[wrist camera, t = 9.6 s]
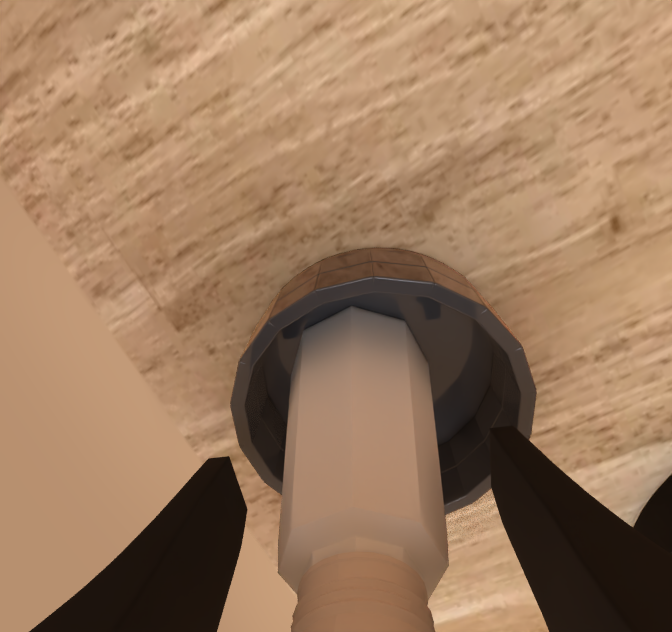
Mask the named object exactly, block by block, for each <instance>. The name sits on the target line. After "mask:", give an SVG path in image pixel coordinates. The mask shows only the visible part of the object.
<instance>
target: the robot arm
mask: <svg viewBox="0 0 672 632" xmlns="http://www.w3.org/2000/svg"><path fill="white" fill-rule="evenodd" d="M489 437H490V469H491V488H492V491H493V494H494V497H495V501H496V504H497V507H498V510H499V513H500V516H501V520H502V523H503V525H504V528H505V530H506V532H507V535H508V537H509V539H510V542H511V544H512V546H513V548H514V551H515V553H516V555H517V558H518V560H519V562H520V564H521V567H522V569H523V571H524V574H525V576H526V578H527V580H528V583H529V585H530V587H531V589H532V592H533V594H534V596H535V599H536V601H537V603H538V605H539V608H540V610H541V612H542V615H543V617H544V620H545V622H546V625H547V627H548V630H549V632H672V554H671V553H669V552H667V551H666V550H664V549H663V548H661V547H660V546H658V545H657V544H656V543H654V542H653V541H651V540H650V539H648V538H647V537H645V536H644V535H642V534H641V533H640V532H638V531H637V530H635V529H634V528H633V527H631V526H630V525H629V524H627V523H626V522H624V521H623V520H622V519H620V518H619V517H618V516H616V515H615V514H614V513H613V512H611V511H610V510H609V509H607V508H606V507H605V506H604V505H602V504H601V503H600V502H599V501H597V500H596V499H595V498H593V497H592V496H591V495H590V494H589V493H587V492H586V491H585V490H584V489H583V488H581V487H580V486H579V485H578V484H577V483H576V482H574V481H573V480H572V479H571V478H570V477H569V476H567V475H566V474H565V473H564V472H563V471H562V470H560V469H559V468H558V467H557V466H556V465H555V464H554V463H553V462H552V461H550V460H549V459H548V458H547V457H546V456H545V455H544V454H543V453H542V452H541V451H540V450H539V449H538V448H537V447H535V446H534V445H533V444H532V443H531V442H530V441H529V440H528V439H527V438H526V437H525V436H524V435H523V434H522V433H521V432H520V431H519V430H518V429H517V428H515V427H514V426H505V427H495V428H489ZM246 515H247V506H246V504H245V501H244V498H243V495H242V492H241V489H240V486H239V483H238V481H237V478H236V475H235V472H234V469H233V466H232V463H231V460H230V458H229V456H228V457H218V458H209V459H208V460H207V461H206V462H205V463H204V464H203V465H202V466H201V467H200V468H199V470H198V471H197V472H196V473H195V474H194V475H193V476H192V477H191V479H190V480H189V481H188V482H187V483H186V484H185V485H184V486H183V488H182V489H181V490H180V491H179V492H178V493H177V494H176V496H175V497H174V498H173V499H172V500H171V501H170V502H169V503H168V505H167V506H166V507H165V508H164V509H163V510H162V511H161V512H160V513H159V514H158V516H156V518H155V519H154V520H153V521H152V522H151V523H150V524H149V525H148V526H147V527H146V528H145V529H144V530H143V531H142V532H141V533H140V534H139V535H138V536H137V537H136V538H135V539H134V540H133V541H132V542H131V543H130V544H129V545H128V547H126V548H125V550H124V551H123V552H122V553H121V554H119V555H118V556H117V558H115V559H114V560H113V561H112V562H111V563H110V564H109V565H108V566H107V567H106V568H105V569H104V570H103V571H101V572H100V573H99V574H98V575H97V576H96V577H95V578H94V579H92V580H91V581H90V582H89V583H88V584H87V585H86V586H85V587H84V588H82V589H81V590H80V591H79V592H78V593H77V594H75V596H73V597H72V598H70V600H68V601H67V602H66V603H64V604H63V605H62V606H61V607H59V608H58V609H57V610H56V611H55V612H53V613H52V614H51V615H49V616H48V617H47V618H46V619H45V620H43V621H42V622H41V623H40V624H38V625H37V626H36V627H35V628H33V629H32V630H31V631H29V632H217V629H218V626H219V622H220V619H221V615H222V612H223V609H224V605H225V602H226V598H227V594H228V591H229V588H230V585H231V581H232V578H233V574H234V570H235V567H236V564H237V560H238V557H239V553H240V549H241V545H242V539H243V534H244V528H245V521H246Z"/></svg>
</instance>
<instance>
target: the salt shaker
mask: <svg viewBox="0 0 672 632" xmlns="http://www.w3.org/2000/svg"><path fill="white" fill-rule="evenodd" d="M448 566H449V562H448V542H447V528H446V519H445V510H444V501H443V492H442V483H441V474H440V465H439V456H438V446H437V437H436V428H435V419H434V410H433V401H432V392H431V383H430V374H429V365H428V362H427V360H426V358H425V356H424V355H423V353H422V351H421V349H420V347H419V345H418V344H417V342H416V340H415V338H414V336H413V335H412V333H411V331H410V329H409V327H408V325H407V324H406V322H405V321H404V320H401V319H397V318H393V317H390V316H386V315H382V314H379V313H375V312H371V311H368V310H364V309H360V308H357V307H353V306H350V307H348V308H346V309H344V310H342V311H340V312H338V313H337V314H335V315H333V316H331V317H329V318H327V319H325V320H323V321H321V322H319V323H317V324H315V325H313V326H311V327H309V328H307V329H305V330H303V333H302V337H301V341H300V345H299V348H298V352H297V356H296V359H295V363H294V367H293V370H292V374H291V384H290V397H289V410H288V423H287V436H286V449H285V462H284V475H283V488H282V501H281V514H280V527H279V540H278V573H279V575H280V576H281V577H282V578H283V579H284V580H285V581H286V582H287V584H288V585H289V586H290V587H291V588H292V589H293V590H294V591H295V592H296V594H297V597H298V604H297V606H296V608H295V611H294V613H293V623H292V626H291V632H435V629H434V621H433V618H432V614H431V611H430V609H429V608H428V607H427V604H428V600H429V598H430V597H431V595H432V593H433V591H434V590H435V588H436V586H437V585H438V583H439V581H440V579H441V578H442V576H443V574H444V573H445V571H446V569H447V567H448Z"/></svg>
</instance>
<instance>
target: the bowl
mask: <svg viewBox="0 0 672 632" xmlns="http://www.w3.org/2000/svg"><path fill="white" fill-rule="evenodd" d="M350 306H353V307H357V308H360V309H364V310H368V311H371V312H375V313H379V314H382V315H386V316H390V317H393V318H397V319H401V320H404V321H405V322H406V324H407V325H408V327H409V329H410V331H411V333H412V335H413V336H414V338H415V340H416V342H417V344H418V345H419V347H420V349H421V351H422V353H423V355H424V356H425V358H426V360H427V362H428V365H429V374H430V383H431V392H432V401H433V410H434V419H435V428H436V437H437V446H438V456H439V465H440V474H441V483H442V492H443V501H444V510H445V515H447V514H449V513H451V512H454V511H456V510H458V509H461V508H463V507H465V506H468V505H470V504H472V503H473V502H475V501H477V500H478V499H479V498H480V497H481V496H483V495H484V494H485V493H486V492H487V491H489V490H490V489H491V469H490V437H489V428H495V427H505V426H514V427H515V428H517V429H518V430H519V431H520V432H521V433H522V434H523V435H524V436H525V437H526V438H527V439H528V440H529V438H530V435H531V432H532V424H533V416H534V409H535V401H536V393H537V392H536V387H535V384H534V380H533V377H532V374H531V371H530V368H529V365H528V362H527V359H526V355H525V352H524V349H523V347H522V345H521V343H520V342H519V341H518V340H517V338H516V337H515V336H514V334H513V333H512V332H511V331H510V329H509V328H508V327H507V326H506V324H505V323H504V322H503V320H502V319H501V318H500V317H499V315H498V314H497V313H496V311H495V310H494V309H493V308H492V307H491V305H490V304H489V303H488V302H487V301H486V300H485V299H484V298H483V297H482V296H481V294H480V293H479V292H478V291H477V290H476V289H475V287H474V286H473V285H472V284H471V283H470V282H469V281H468V280H467V279H466V278H465V277H463V275H461V274H459V273H458V272H456V271H455V270H453V269H452V268H450V267H449V266H447V265H445V264H444V263H441V262H439V261H437V260H435V259H433V258H431V257H428V256H425V255H422V254H418V253H415V252H412V251H406V250H400V249H394V248H368V249H358V250H353V251H349V252H344V253H340V254H337V255H334V256H332V257H329V258H326V259H323V260H321V261H320V262H318V263H316V264H314V265H312V266H310V267H308V268H307V269H305V270H304V271H302V272H301V273H300V274H298V275H297V276H295V277H294V278H293V279H292V280H291V281H290V282H289V283H288V284H286V285H285V286H284V287H283V288H282V289H281V291H280V292H279V293H278V294H277V296H276V297H275V298H274V299H273V301H272V302H271V304H270V306H269V307H268V309H267V311H266V312H265V313H264V315H263V316H262V318H261V319H260V321H259V322H258V324H257V326H256V328H255V330H254V332H253V334H252V336H251V338H250V340H249V342H248V344H247V346H246V348H245V350H244V352H243V354H242V356H241V358H240V360H239V362H238V367H237V372H236V377H235V382H234V387H233V392H232V397H231V402H230V404H231V405H230V406H231V411H232V415H233V420H234V424H235V429H236V434H237V438H238V443H239V446H240V448H241V449H242V451H243V452H244V454H245V455H246V457H247V458H248V460H249V461H250V463H251V464H252V466H253V467H254V469H255V470H256V471H257V473H258V474H259V476H260V477H261V479H262V480H263V481H264V482H265V483H266V484H268V485H269V486H270V487H272V488H273V489H274V490H276V491H277V492H278V493H280V494H281V495H282V488H283V475H284V462H285V449H286V436H287V423H288V410H289V397H290V384H291V374H292V370H293V367H294V363H295V359H296V356H297V352H298V348H299V345H300V341H301V337H302V333H303V330H305V329H307V328H309V327H311V326H313V325H315V324H317V323H319V322H321V321H323V320H325V319H327V318H329V317H331V316H333V315H335V314H337V313H338V312H340V311H342V310H344V309H346V308H348V307H350Z"/></svg>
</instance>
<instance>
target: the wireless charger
mask: <svg viewBox="0 0 672 632" xmlns="http://www.w3.org/2000/svg"><path fill="white" fill-rule="evenodd" d="M634 529H635V530H637V531H638V532H640V533H641V534H642V535H644V536H645V537H647V538H648V539H650V540H651V541H653V542H654V543H656V544H657V545H658V546H660V547H661V548H663V549H664V550H666V551H667V552H669V553H671V554H672V476H671V477H670V478H669V479H668V480H667V481H666V482H665V483H664V484H663V485H662V486H661V487H660V488H659V490H658V491H657V492H656V493H655V494H654V496H653V497H652V498H651V500H650V501H649V502H648V504H647V505H646V507H645V508H644V510H643V512H642V513H641V515H640V517H639V519H638V521H637V523H636V525H635V527H634Z"/></svg>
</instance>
